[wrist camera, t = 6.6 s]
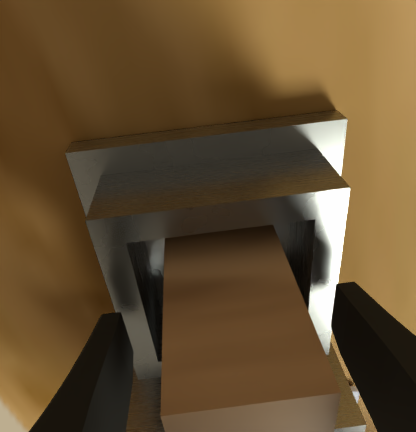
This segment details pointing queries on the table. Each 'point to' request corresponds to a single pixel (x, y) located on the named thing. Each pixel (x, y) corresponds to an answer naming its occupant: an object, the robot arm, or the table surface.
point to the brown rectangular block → (240, 339)
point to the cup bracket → (214, 222)
